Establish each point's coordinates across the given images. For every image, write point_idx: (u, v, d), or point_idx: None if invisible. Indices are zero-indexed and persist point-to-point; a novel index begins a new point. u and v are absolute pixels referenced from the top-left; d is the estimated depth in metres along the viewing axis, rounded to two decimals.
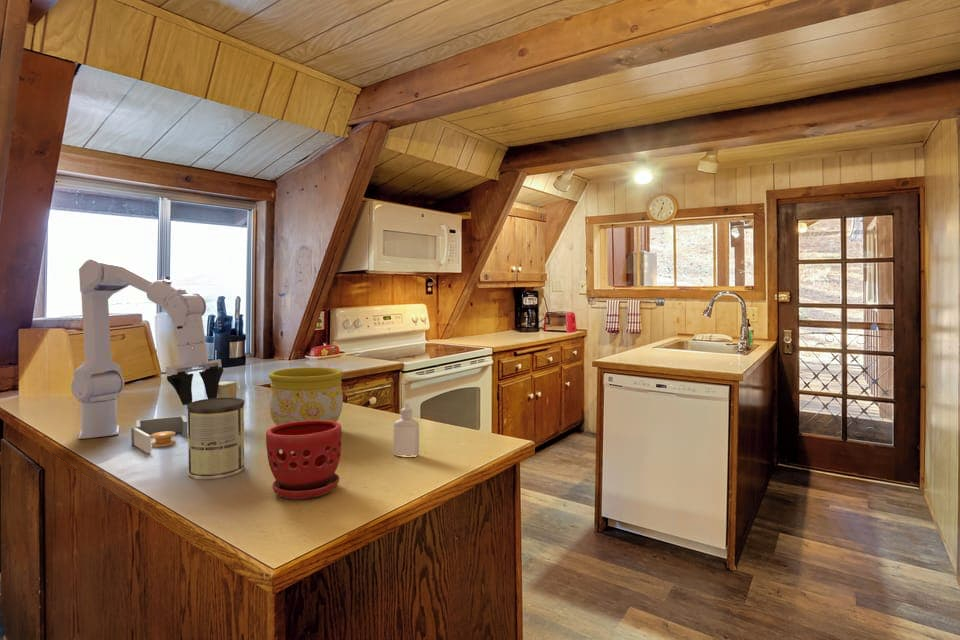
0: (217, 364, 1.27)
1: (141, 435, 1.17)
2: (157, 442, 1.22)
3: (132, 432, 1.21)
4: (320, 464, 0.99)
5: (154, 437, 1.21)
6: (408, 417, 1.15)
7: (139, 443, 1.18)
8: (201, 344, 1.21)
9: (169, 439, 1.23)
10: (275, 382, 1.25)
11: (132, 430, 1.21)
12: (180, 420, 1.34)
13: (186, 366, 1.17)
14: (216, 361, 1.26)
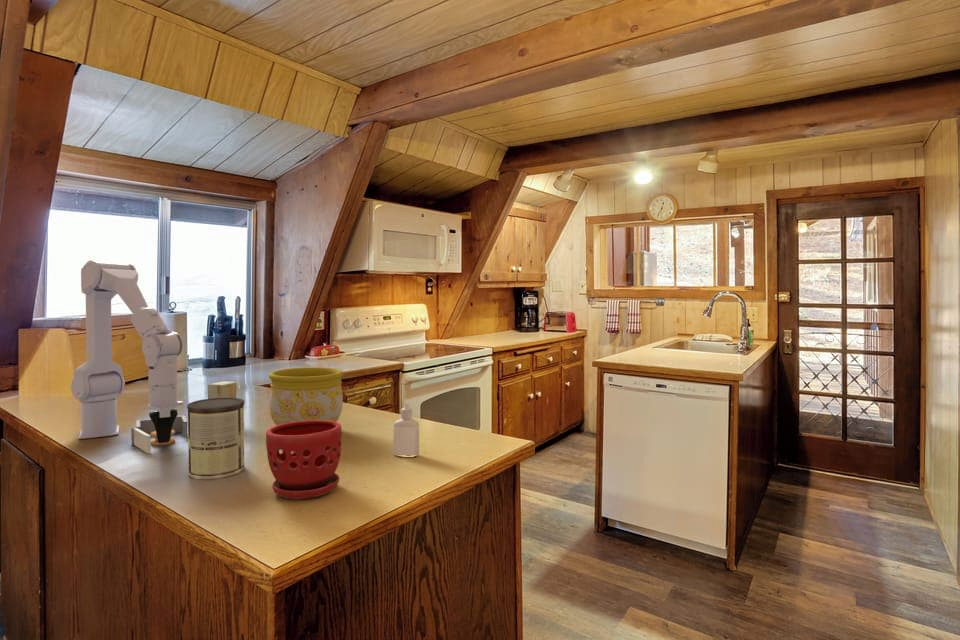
0: None
1: (141, 435, 1.17)
2: (157, 440, 1.22)
3: (132, 432, 1.21)
4: (320, 464, 0.99)
5: (154, 435, 1.22)
6: (408, 417, 1.15)
7: (139, 443, 1.18)
8: None
9: None
10: (275, 382, 1.25)
11: (132, 430, 1.21)
12: (180, 420, 1.34)
13: (172, 407, 1.18)
14: None
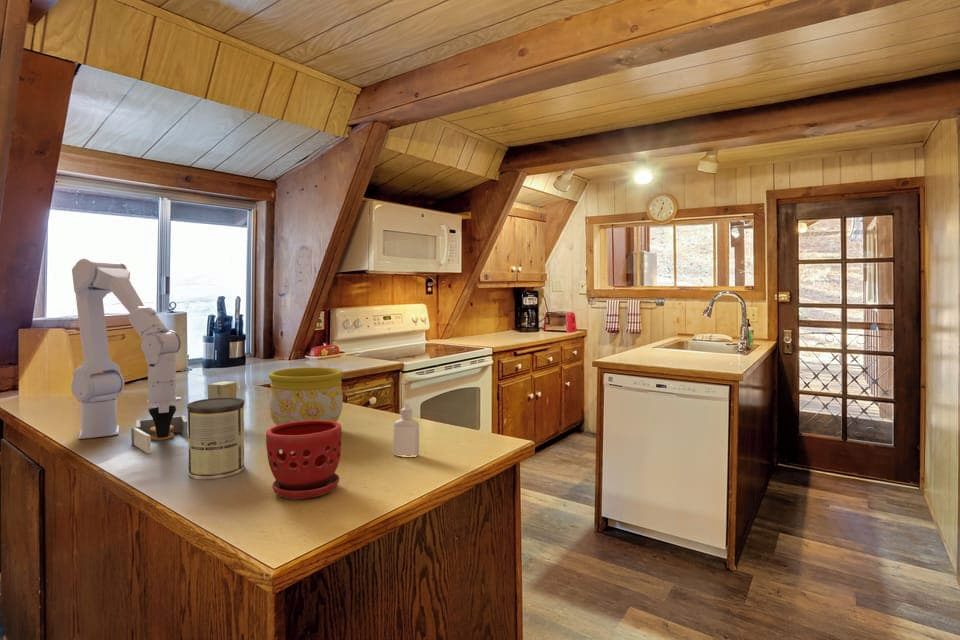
0: None
1: (141, 435, 1.17)
2: (156, 435, 1.27)
3: (132, 432, 1.21)
4: (320, 464, 0.99)
5: (153, 430, 1.26)
6: (408, 417, 1.15)
7: (139, 443, 1.18)
8: (175, 381, 1.26)
9: None
10: (275, 382, 1.25)
11: (132, 430, 1.21)
12: (180, 420, 1.34)
13: (171, 403, 1.22)
14: None
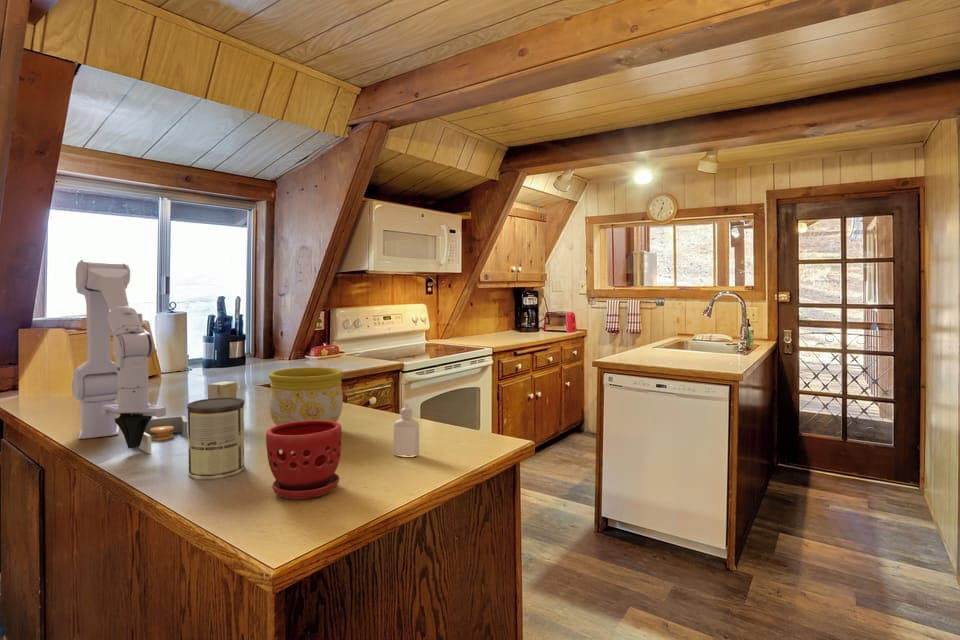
0: None
1: None
2: (156, 436, 1.27)
3: None
4: (320, 464, 0.99)
5: (153, 431, 1.26)
6: (408, 417, 1.15)
7: None
8: None
9: (168, 433, 1.28)
10: (275, 382, 1.25)
11: None
12: (180, 420, 1.34)
13: None
14: None
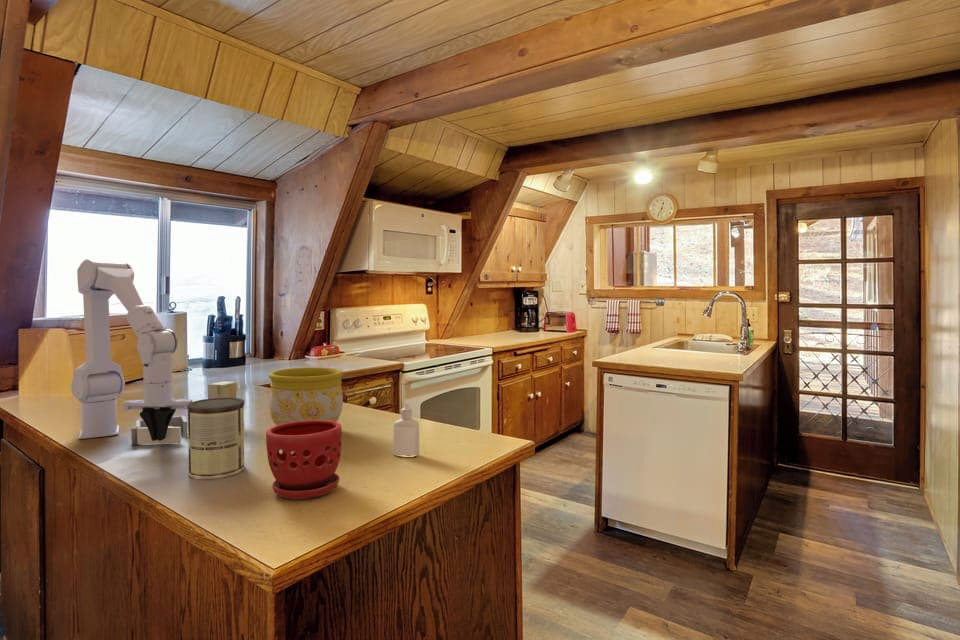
0: None
1: None
2: None
3: (134, 432, 1.21)
4: (320, 464, 0.99)
5: None
6: (408, 417, 1.15)
7: None
8: None
9: None
10: (275, 382, 1.25)
11: (134, 430, 1.21)
12: (180, 420, 1.34)
13: None
14: None
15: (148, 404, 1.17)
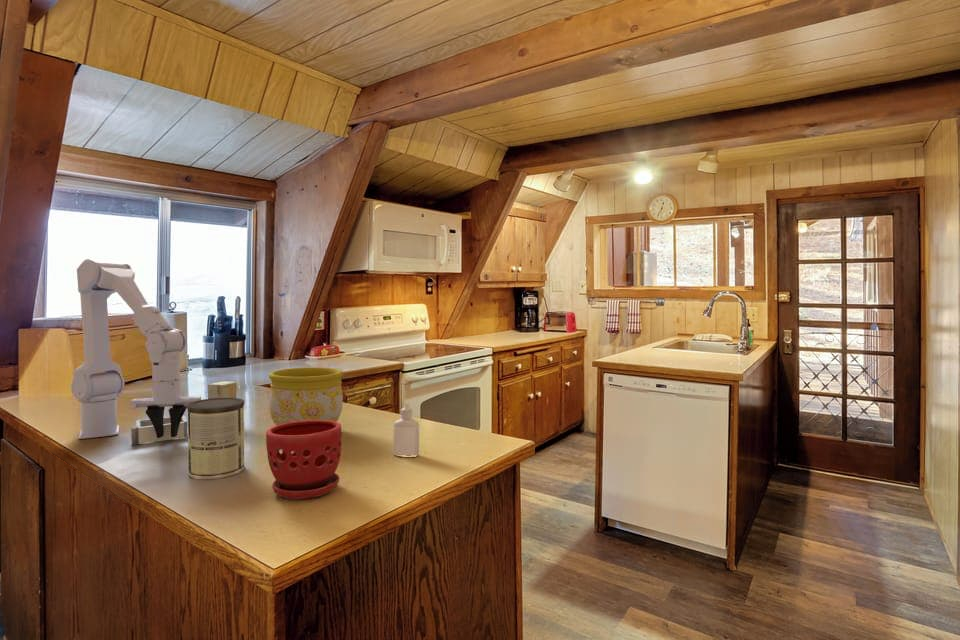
0: None
1: (167, 426, 1.25)
2: None
3: (135, 432, 1.21)
4: (320, 464, 0.99)
5: None
6: (408, 417, 1.15)
7: None
8: None
9: None
10: (275, 382, 1.25)
11: (136, 430, 1.21)
12: None
13: None
14: None
15: (158, 402, 1.20)
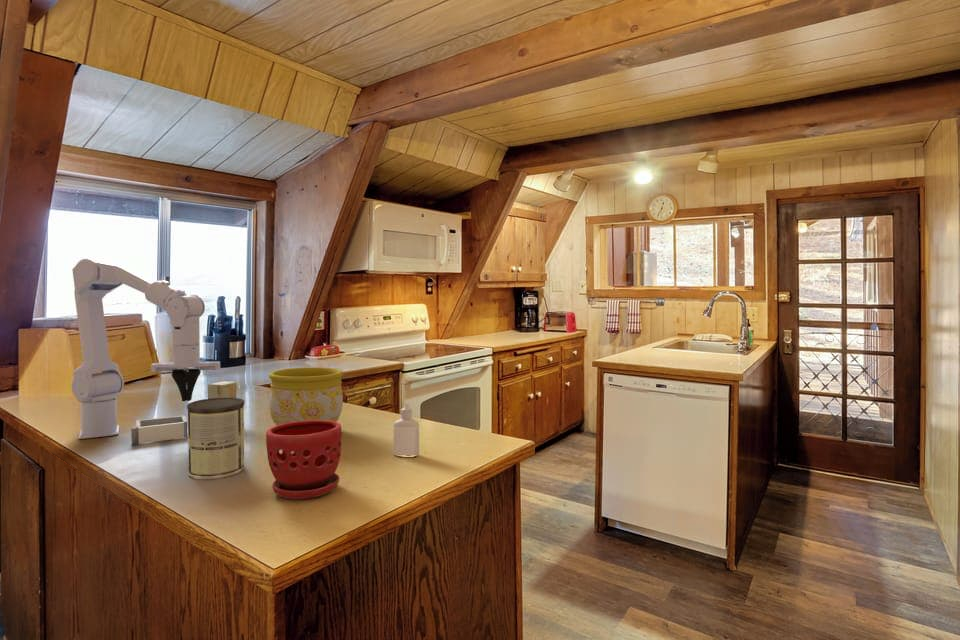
0: None
1: (167, 426, 1.25)
2: None
3: (135, 432, 1.21)
4: (320, 464, 0.99)
5: None
6: (408, 417, 1.15)
7: (159, 435, 1.24)
8: None
9: None
10: (275, 382, 1.25)
11: (136, 430, 1.21)
12: (180, 420, 1.34)
13: None
14: None
15: (180, 365, 1.22)
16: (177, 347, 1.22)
